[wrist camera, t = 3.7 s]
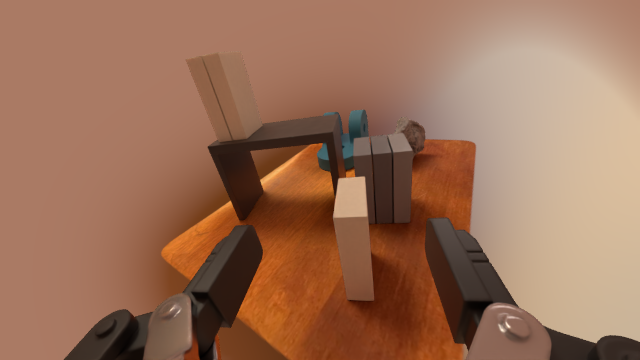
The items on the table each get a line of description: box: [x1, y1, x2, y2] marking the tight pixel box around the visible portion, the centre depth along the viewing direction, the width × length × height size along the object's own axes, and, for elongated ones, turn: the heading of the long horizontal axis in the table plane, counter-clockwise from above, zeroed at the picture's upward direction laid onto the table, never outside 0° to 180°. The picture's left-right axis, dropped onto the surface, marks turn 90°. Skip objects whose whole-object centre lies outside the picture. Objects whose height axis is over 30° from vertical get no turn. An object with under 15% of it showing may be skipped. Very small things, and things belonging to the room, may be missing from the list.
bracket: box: [317, 110, 369, 171], centre depth 58 cm, size 18×10×10 cm, turn 159°
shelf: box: [208, 114, 346, 220], centre depth 41 cm, size 20×10×15 cm, turn 82°
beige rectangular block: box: [333, 176, 374, 301], centre depth 25 cm, size 3×7×12 cm, turn 172°
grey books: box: [353, 133, 413, 224], centre depth 35 cm, size 8×7×12 cm
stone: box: [394, 117, 425, 157], centre depth 50 cm, size 9×7×10 cm
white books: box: [186, 52, 263, 142], centre depth 36 cm, size 5×7×12 cm
